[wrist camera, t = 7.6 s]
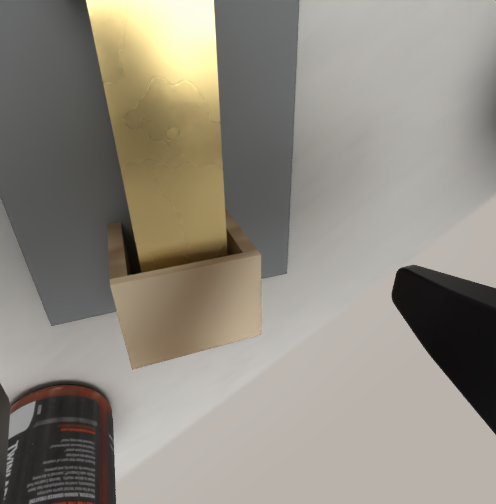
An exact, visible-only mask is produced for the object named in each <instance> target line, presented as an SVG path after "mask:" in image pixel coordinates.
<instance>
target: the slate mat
mask: <svg viewBox="0 0 496 504" xmlns="http://www.w3.org/2000/svg"><path fill="white" fill-rule="evenodd" d="M214 15H215V34H216V52H217V70H218V89H219V107H220V125H221V143H222V162H223V180H224V198H225V208H226V209H227V211H228V212H229V213H230V215H231V216H232V217H233V219H234V220H235V221H236V223H237V224H238V225H239V226H240V228H241V229H242V230H243V232H244V233H245V234H246V236H247V237H248V238H249V240H250V241H251V242H252V243H253V245H254V246H255V247H256V249H257V250H258V251H259V253H260V254H261V279H263V278H268V277H272V276H277V275H281V274H286V273H287V260H288V238H289V217H290V195H291V173H292V151H293V129H294V107H295V85H296V63H297V41H298V19H299V0H214ZM0 197H1V200H2V202H3V205H4V207H5V210H6V212H7V215H8V217H9V220H10V222H11V225H12V227H13V230H14V233H15V235H16V238H17V240H18V243H19V245H20V248H21V250H22V253H23V255H24V258H25V260H26V263H27V265H28V268H29V271H30V273H31V276H32V278H33V281H34V283H35V286H36V288H37V291H38V293H39V296H40V298H41V301H42V304H43V306H44V309H45V311H46V314H47V316H48V319H49V321H50V324H51V326H54V325H58V324H62V323H67V322H71V321H76V320H80V319H85V318H89V317H94V316H98V315H103V314H107V313H112V312H116V311H117V310H116V306H115V302H114V299H113V295H112V291H111V287H110V274H109V253H108V233H107V224H113V223H119V222H121V226H122V231H123V235H124V240H125V244H126V249H127V253H128V258H129V262H130V267H131V271H132V275H134V274H139V273H142V272H141V267H140V262H139V257H138V252H137V247H136V243H135V238H134V233H133V228H132V223H131V218H130V213H129V208H128V203H127V198H126V193H125V188H124V184H123V179H122V174H121V169H120V164H119V159H118V154H117V149H116V144H115V139H114V134H113V130H112V125H111V120H110V115H109V110H108V105H107V100H106V95H105V90H104V85H103V80H102V76H101V71H100V66H99V61H98V56H97V51H96V46H95V41H94V36H93V31H92V26H91V22H90V17H89V12H88V7H87V2H86V0H0Z"/></svg>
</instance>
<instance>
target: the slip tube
mask: <svg viewBox="0 0 496 504" xmlns="http://www.w3.org/2000/svg"><path fill="white" fill-rule="evenodd" d="M86 2H87V7H88V12H89V17H90V22H91V26H92V31H93V36H94V41H95V46H96V51H97V56H98V61H99V66H100V71H101V76H102V80H103V85H104V90H105V95H106V100H107V105H108V110H109V115H110V120H111V125H112V130H113V134H114V139H115V144H116V149H117V154H118V159H119V164H120V169H121V174H122V179H123V184H124V188H125V193H126V198H127V203H128V208H129V213H130V218H131V223H132V228H133V233H134V238H135V243H136V247H137V252H138V257H139V262H140V267H141V272H142V273H144V272H149V271H154V270H159V269H164V268H169V267H174V266H179V265H184V264H189V263H194V262H199V261H204V260H209V259H214V258H219V257H224V256H228V253H227V235H226V217H225V198H224V180H223V162H222V143H221V125H220V107H219V89H218V70H217V52H216V34H215V15H214V0H86Z"/></svg>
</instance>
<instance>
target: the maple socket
mask: <svg viewBox="0 0 496 504" xmlns="http://www.w3.org/2000/svg"><path fill="white" fill-rule="evenodd" d="M225 217H226V235H227V253H228V256H224V257H219V258H214V259H209V260H204V261H199V262H194V263H189V264H184V265H179V266H174V267H169V268H164V269H159V270H154V271H149V272H144V273H139V274H134V275H132V271H131V267H130V262H129V258H128V253H127V249H126V244H125V240H124V235H123V231H122V226H121V222H119V223H113V224H107V233H108V253H109V274H110V287H111V291H112V295H113V299H114V302H115V306H116V310H117V314H118V318H119V321H120V325H121V329H122V333H123V336H124V340H125V344H126V348H127V352H128V355H129V359H130V363H131V367H132V370H133V369H137V368H140V367H144V366H148V365H151V364H155V363H159V362H162V361H166V360H170V359H173V358H177V357H181V356H185V355H188V354H192V353H196V352H199V351H203V350H207V349H210V348H214V347H218V346H221V345H225V344H229V343H233V342H236V341H240V340H244V339H247V338H251V337H255V336H258V335H261V254H260V253H259V251H258V250H257V249H256V247H255V246H254V245H253V243H252V242H251V241H250V240H249V238H248V237H247V236H246V234H245V233H244V232H243V230H242V229H241V228H240V226H239V225H238V224H237V223H236V221H235V220H234V219H233V217H232V216H231V215H230V213H229V212H228V211H227V209H226V208H225Z"/></svg>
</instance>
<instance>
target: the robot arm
mask: <svg viewBox="0 0 496 504" xmlns="http://www.w3.org/2000/svg"><path fill="white" fill-rule="evenodd" d="M392 300H393V303H394V304H395V306H396V307H397V309H398V310H399V312H400V313H401V315H402V316H403V318H404V319H405V321H406V322H407V323H408V325H409V326H410V328H411V329H412V331H413V332H414V333H415V335H416V337H417V338H418V340H419V341H420V342H421V344H422V345H423V347H424V348H425V349H426V351H427V352H428V353H429V355H430V356H431V357H432V358H433V360H434V361H435V362H436V363H437V365H438V366H439V367H440V368H441V369H442V371H443V372H444V373H445V374H446V375H447V376H448V378H449V379H450V380H451V381H452V383H453V384H454V385H455V386H456V387H457V389H458V390H459V391H460V392H461V393H462V394H463V396H464V397H465V398H466V399H467V401H468V402H469V403H470V404H471V405H472V407H473V408H474V409H475V410H476V411H477V413H478V414H479V415H480V416H481V418H482V419H483V420H484V421H485V422H486V423H487V425H488V426H489V427H490V428H491V429H492V431H493V432H494V433H495V434H496V288H493V287H489V286H486V285H482V284H479V283H475V282H472V281H469V280H465V279H461V278H458V277H455V276H451V275H448V274H444V273H441V272H437V271H434V270H431V269H427V268H424V267H420V266H417V265H410V266H406V267H402V268H400V269H399V270H398V271H397V273H396V277H395V281H394V285H393V290H392ZM9 422H10V403H9V399H8V397H7V395H6V393H5V391H4V389H3V388H2V386H1V384H0V504H3V501H4V494H5V483H6V470H7V454H8V438H9Z"/></svg>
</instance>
